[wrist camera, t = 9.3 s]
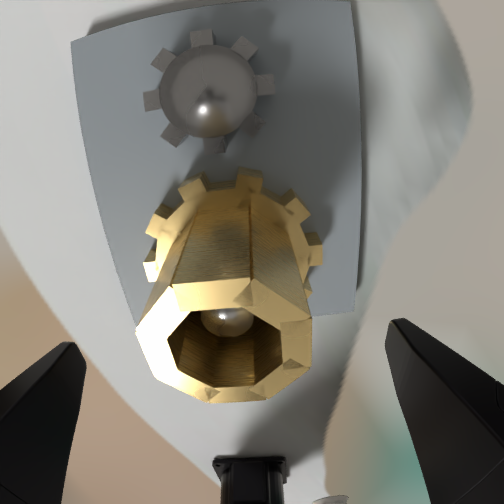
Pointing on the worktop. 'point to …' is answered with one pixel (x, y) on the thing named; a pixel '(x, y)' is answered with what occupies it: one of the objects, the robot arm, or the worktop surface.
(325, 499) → the chalice
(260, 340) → the planet gear
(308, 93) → the plate
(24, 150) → the worktop surface
